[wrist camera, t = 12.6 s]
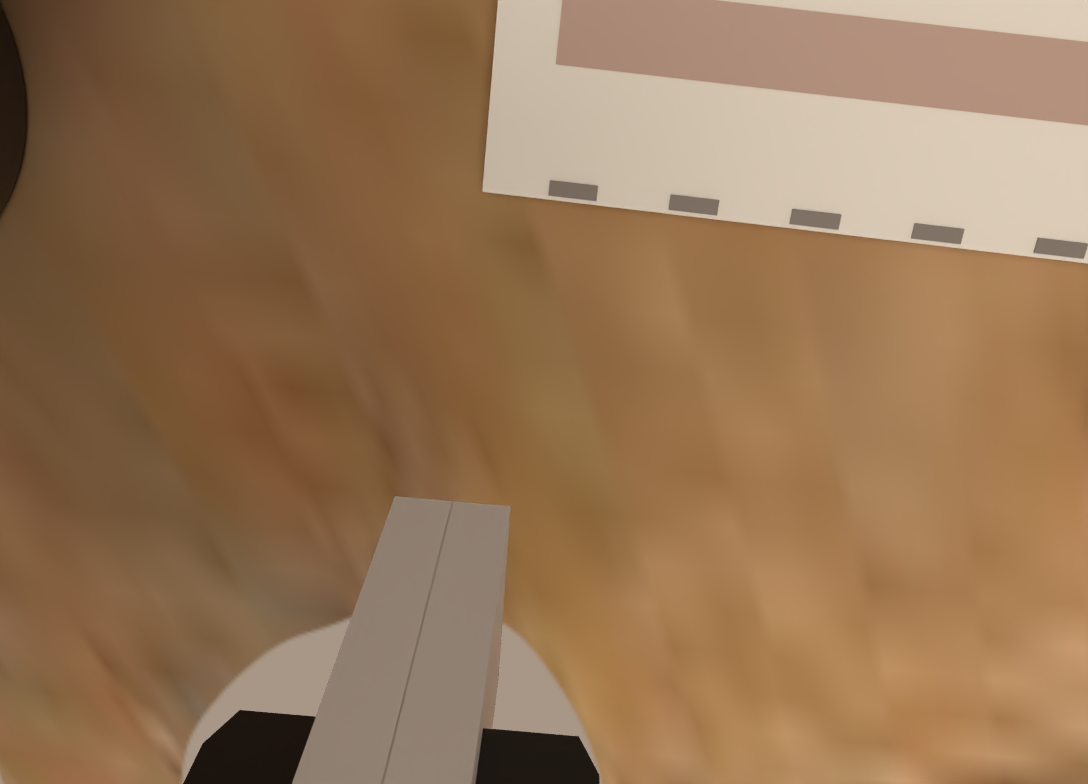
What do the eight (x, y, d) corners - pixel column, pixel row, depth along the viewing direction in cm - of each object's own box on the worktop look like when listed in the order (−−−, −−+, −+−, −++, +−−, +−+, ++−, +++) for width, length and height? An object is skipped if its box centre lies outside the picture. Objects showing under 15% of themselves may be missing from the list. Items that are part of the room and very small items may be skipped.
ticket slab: (489, 181, 36) (481, 192, 34) (510, -67, 33) (503, -71, 31) (1121, 255, 36) (1150, 271, 34) (1200, 9, 33) (1237, 11, 31)
